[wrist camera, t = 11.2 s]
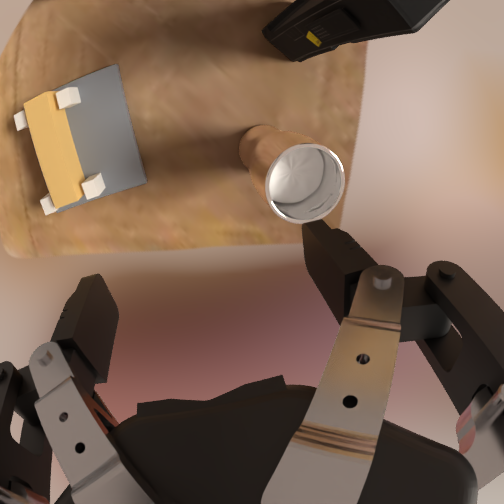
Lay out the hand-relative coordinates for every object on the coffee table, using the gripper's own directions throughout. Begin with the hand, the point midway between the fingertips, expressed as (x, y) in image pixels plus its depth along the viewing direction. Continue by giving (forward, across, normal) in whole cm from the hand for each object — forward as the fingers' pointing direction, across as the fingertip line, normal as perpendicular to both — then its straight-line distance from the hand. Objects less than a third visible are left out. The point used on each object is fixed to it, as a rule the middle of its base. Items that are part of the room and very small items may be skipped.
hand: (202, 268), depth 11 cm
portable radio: (+26, -14, -12) cm, 32 cm away
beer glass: (+26, -8, +2) cm, 28 cm away
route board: (+26, +13, -5) cm, 30 cm away
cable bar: (+25, +15, -6) cm, 30 cm away
